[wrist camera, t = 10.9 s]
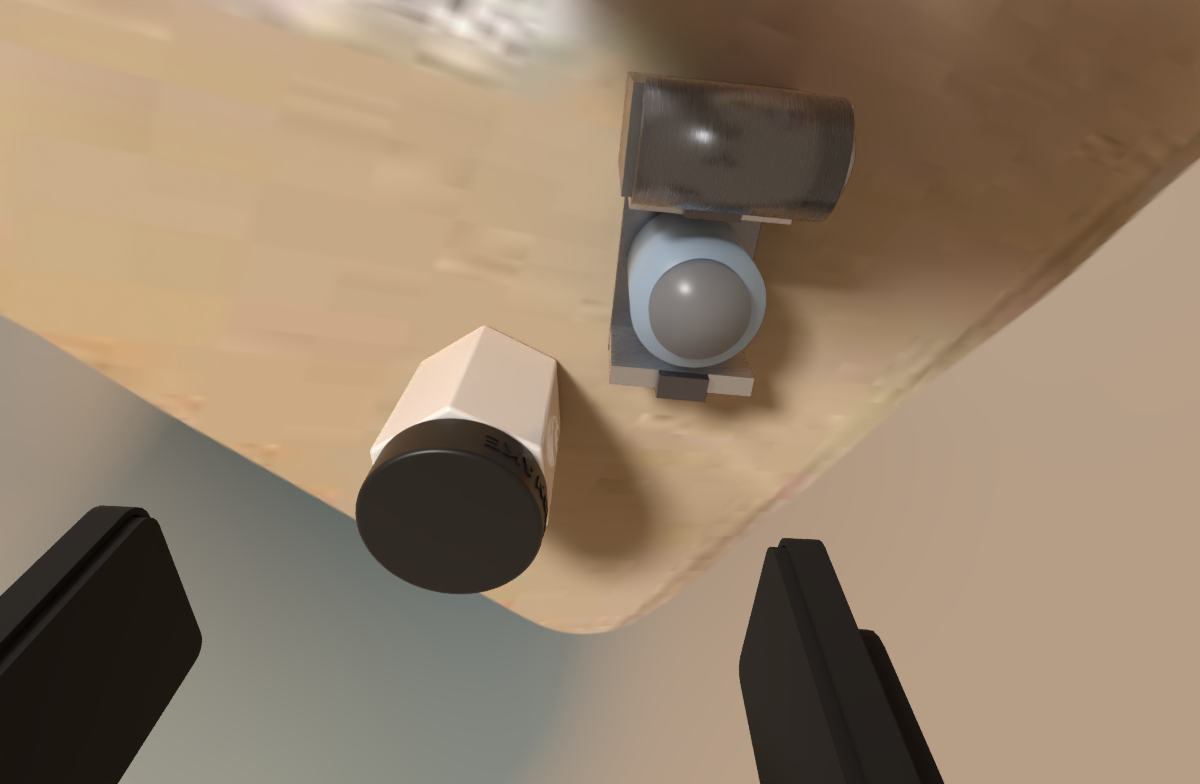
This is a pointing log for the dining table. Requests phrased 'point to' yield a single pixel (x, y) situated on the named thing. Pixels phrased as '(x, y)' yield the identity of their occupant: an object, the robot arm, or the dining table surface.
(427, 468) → the jar
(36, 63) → the dining table surface
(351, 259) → the dining table surface
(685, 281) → the grey plastic cylinder
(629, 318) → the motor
